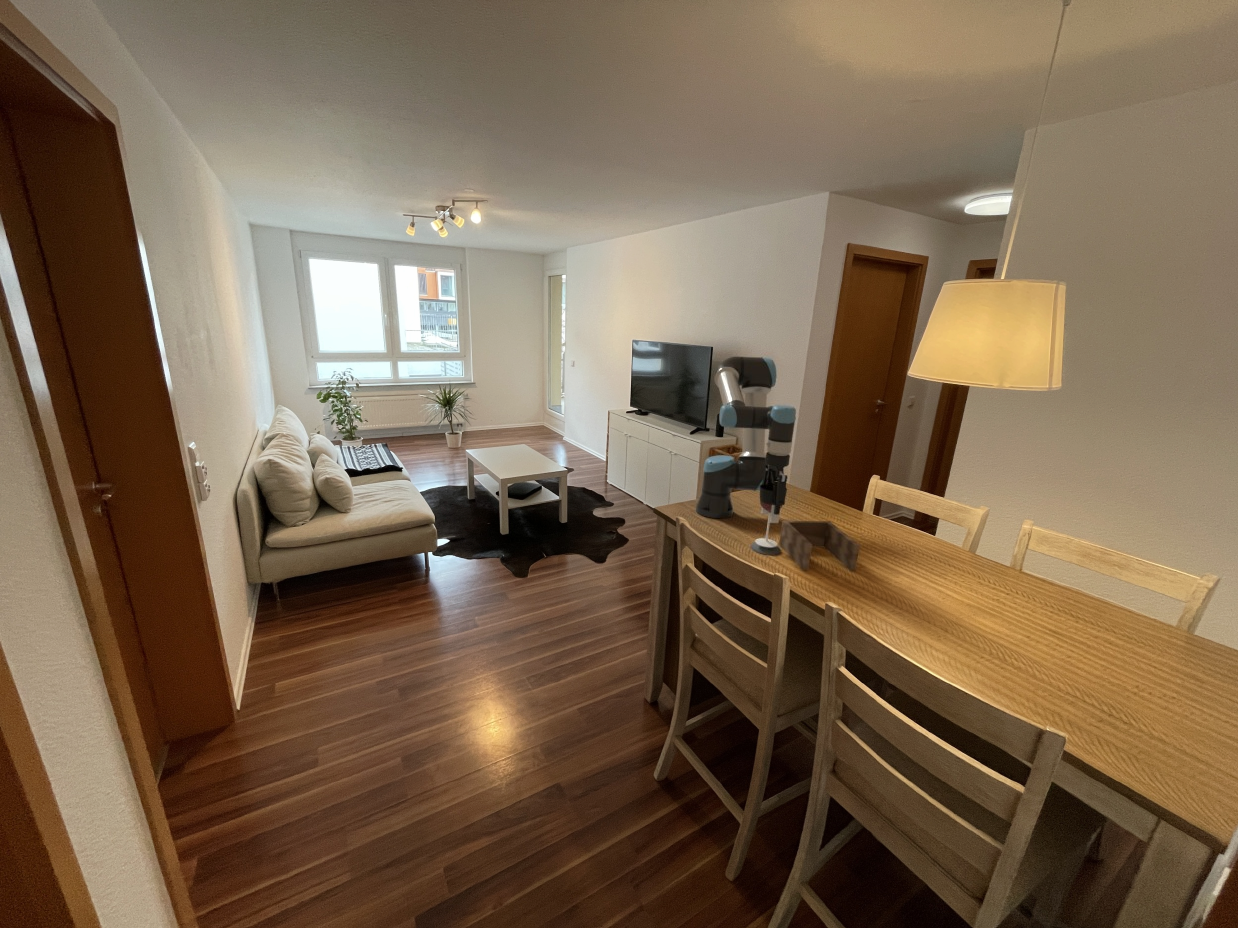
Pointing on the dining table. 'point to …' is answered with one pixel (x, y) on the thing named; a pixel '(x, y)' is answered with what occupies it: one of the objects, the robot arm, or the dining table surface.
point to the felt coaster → (765, 549)
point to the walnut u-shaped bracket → (817, 542)
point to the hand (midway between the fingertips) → (769, 517)
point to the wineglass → (765, 502)
